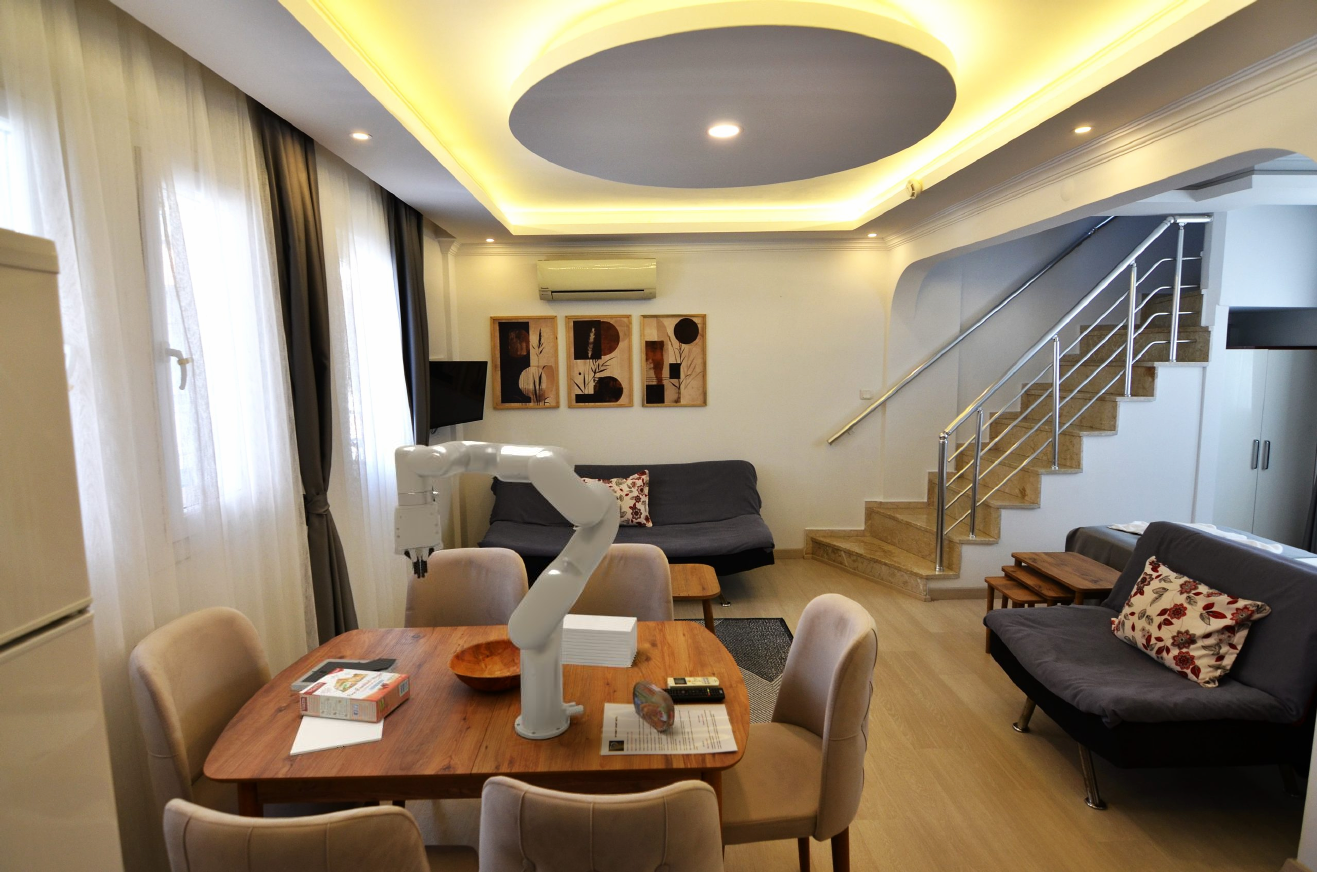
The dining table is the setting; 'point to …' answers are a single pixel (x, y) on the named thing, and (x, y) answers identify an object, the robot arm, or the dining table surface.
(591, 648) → the stack of papers
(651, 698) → the tin
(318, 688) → the cracker box
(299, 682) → the picture frame
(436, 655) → the dining table surface
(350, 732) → the white flat panel
